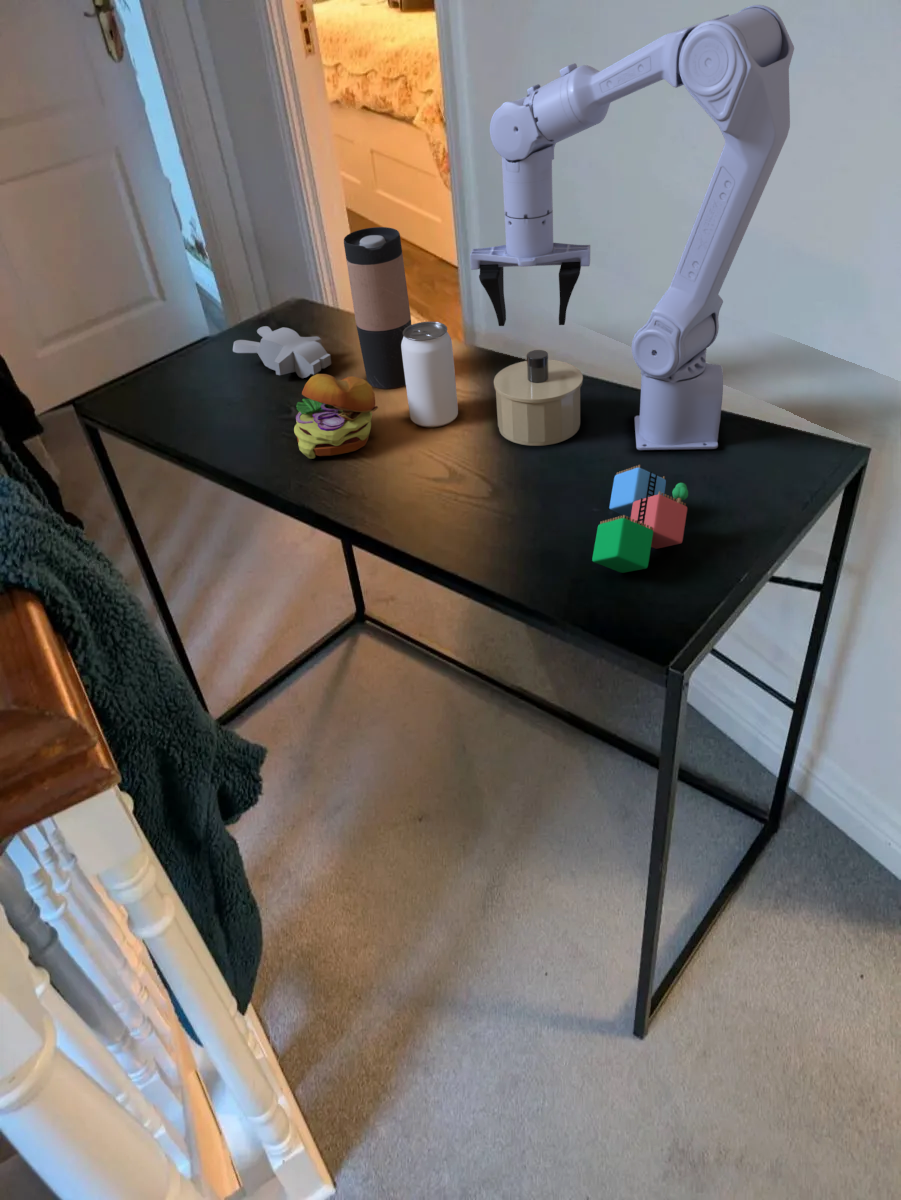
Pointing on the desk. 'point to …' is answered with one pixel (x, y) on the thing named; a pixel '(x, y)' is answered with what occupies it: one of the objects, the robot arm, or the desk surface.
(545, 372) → the pot lid
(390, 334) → the travel mug
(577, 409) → the beige hollow cylinder
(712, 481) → the desk surface
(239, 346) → the bunny figurine
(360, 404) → the cheeseburger
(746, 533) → the desk surface
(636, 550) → the building blocks
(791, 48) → the robot arm
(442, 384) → the can
